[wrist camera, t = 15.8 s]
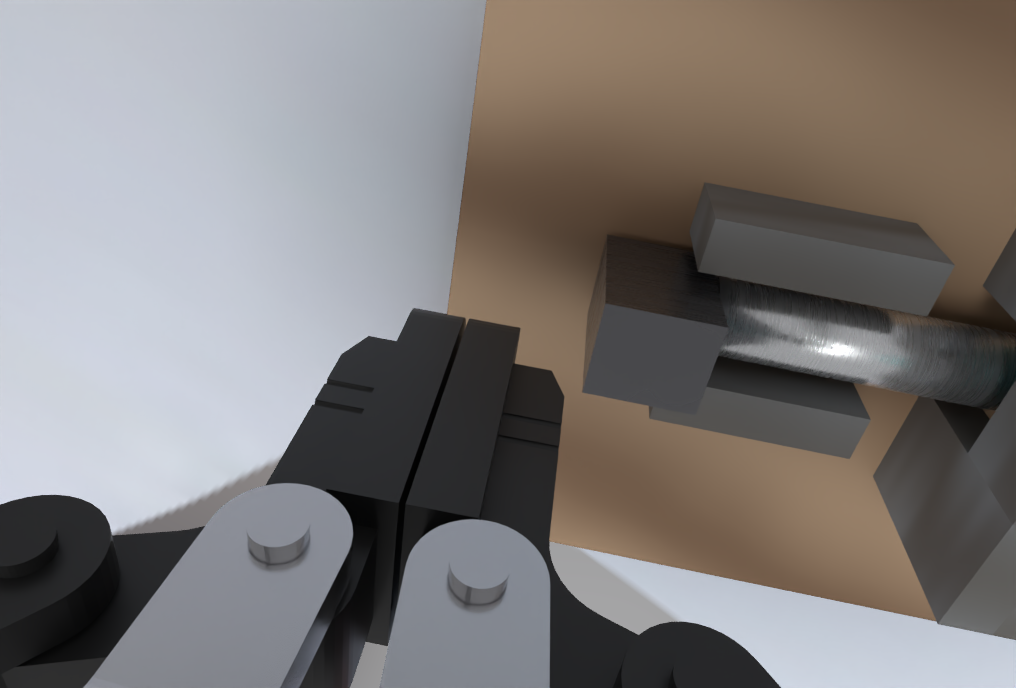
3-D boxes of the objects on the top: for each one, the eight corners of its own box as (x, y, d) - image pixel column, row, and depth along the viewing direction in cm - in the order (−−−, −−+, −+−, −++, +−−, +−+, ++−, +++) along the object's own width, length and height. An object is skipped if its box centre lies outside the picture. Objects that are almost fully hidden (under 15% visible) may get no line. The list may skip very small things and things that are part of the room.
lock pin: (606, 233, 14) (605, 303, 12) (1061, 322, 14) (1154, 412, 11) (587, 312, 15) (582, 392, 13) (1011, 396, 15) (1088, 494, 12)
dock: (526, -248, 11) (473, -330, 7) (1830, -13, 11) (2594, 46, 7) (429, 488, 20) (380, 647, 16) (1157, 638, 20) (1306, 843, 15)
